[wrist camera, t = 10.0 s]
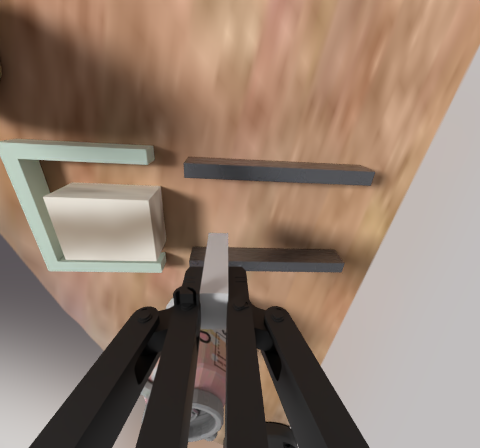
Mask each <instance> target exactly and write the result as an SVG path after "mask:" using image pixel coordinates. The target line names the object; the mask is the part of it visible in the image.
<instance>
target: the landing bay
mask: <svg viewBox="0 0 480 448" xmlns="http://www.w3.org/2000/svg"><path fill="white" fill-rule="evenodd" d="M0 156H1V159H2V161H3V163H4V166H5V168H6V170H7V173H8V175H9V178H10V180H11V182H12V185H13V187H14V190H15V192H16V194H17V197H18V199H19V201H20V204H21V206H22V209H23V211H24V213H25V216H26V218H27V220H28V223H29V225H30V228H31V230H32V232H33V235H34V237H35V239H36V242H37V244H38V247H39V249H40V251H41V254H42V256H43V258H44V261H45V263H46V266H47V268H48V270H49V271H78V272H149V273H162V271H163V268H164V266H165V263H166V253H165V252H161V253H160V255H159V257H158V260H157V261H109V260H66V259H65V257H64V254H63V251H62V248H61V246H60V243H59V240H58V237H57V235H56V232H55V229H54V226H53V224H52V221H51V218H50V215H49V213H48V210H47V207H46V204H45V202H44V199H43V196H45V195H47V194H50V191H49V188H48V185H47V182H46V180H45V177H44V174H43V171H42V168H41V165H40V162H39V160H53V161H75V162H97V163H119V164H141V165H148V164H150V163H151V162H152V161H154V160H155V157H154V148H153V146H150V145H130V144H111V143H91V142H72V141H52V140H33V139H11V140H4V141H0Z"/></svg>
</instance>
